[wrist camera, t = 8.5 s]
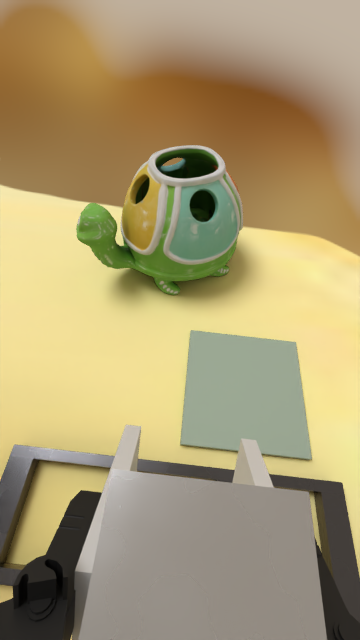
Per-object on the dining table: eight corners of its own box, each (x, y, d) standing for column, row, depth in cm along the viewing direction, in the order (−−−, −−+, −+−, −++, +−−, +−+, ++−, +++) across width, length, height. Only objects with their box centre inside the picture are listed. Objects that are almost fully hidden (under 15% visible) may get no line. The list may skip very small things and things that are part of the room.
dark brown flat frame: (-27, 575, 19) (-38, 580, 18) (20, 446, 23) (14, 444, 22) (357, 620, 19) (368, 628, 18) (334, 483, 23) (342, 482, 22)
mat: (308, 459, 24) (311, 459, 23) (180, 444, 24) (180, 443, 23) (293, 344, 30) (295, 342, 29) (190, 333, 30) (190, 330, 29)
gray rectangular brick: (220, 607, 14) (353, 857, 4) (120, 596, 14) (41, 826, 4) (222, 489, 16) (308, 491, 7) (138, 480, 16) (112, 469, 7)
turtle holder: (78, 246, 35) (45, 148, 25) (204, 214, 40) (219, 120, 30) (107, 324, 30) (79, 236, 20) (250, 275, 34) (287, 185, 24)
